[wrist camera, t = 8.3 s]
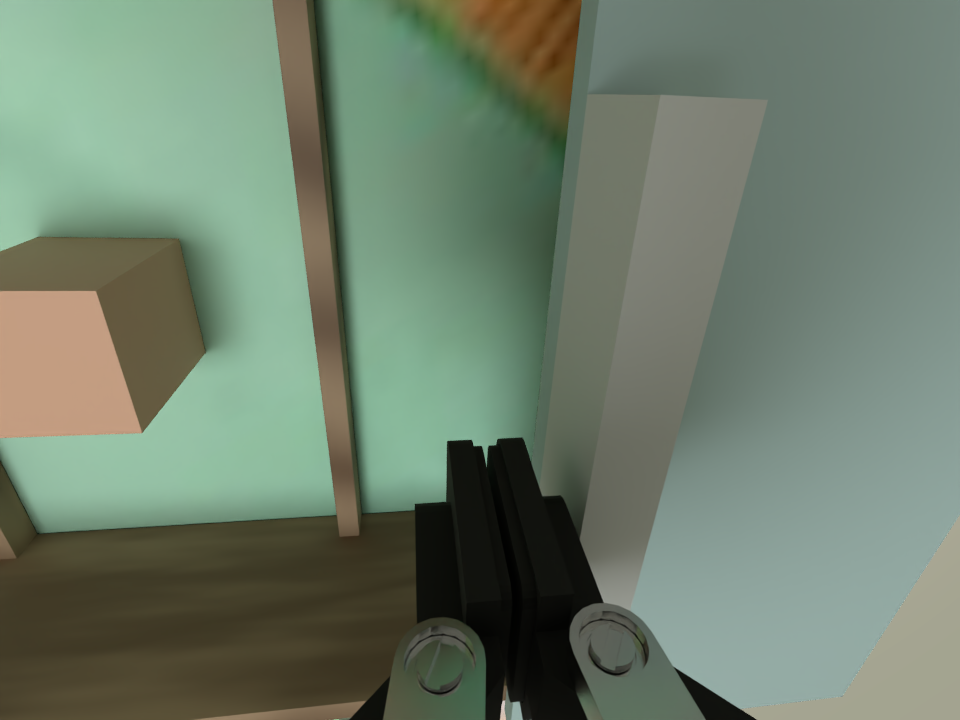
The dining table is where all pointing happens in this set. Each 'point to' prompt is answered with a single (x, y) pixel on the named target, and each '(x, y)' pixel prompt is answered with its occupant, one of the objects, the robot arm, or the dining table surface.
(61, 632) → the wooden shelf frame
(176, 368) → the terracotta block
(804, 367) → the sliding cover
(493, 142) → the dining table surface
